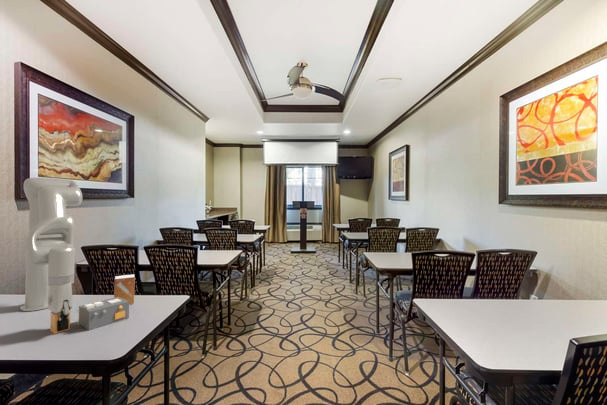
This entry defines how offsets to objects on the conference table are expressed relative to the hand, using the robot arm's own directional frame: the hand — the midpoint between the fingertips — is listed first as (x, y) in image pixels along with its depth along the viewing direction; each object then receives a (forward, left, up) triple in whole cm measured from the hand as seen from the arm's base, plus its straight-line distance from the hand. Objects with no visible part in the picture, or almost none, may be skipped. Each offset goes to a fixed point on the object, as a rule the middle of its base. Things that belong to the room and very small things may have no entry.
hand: (60, 327), depth 105 cm
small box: (-11, +27, -1) cm, 29 cm away
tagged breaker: (+4, +17, 0) cm, 17 cm away
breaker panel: (+4, +13, -1) cm, 14 cm away
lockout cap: (0, 0, -1) cm, 1 cm away
